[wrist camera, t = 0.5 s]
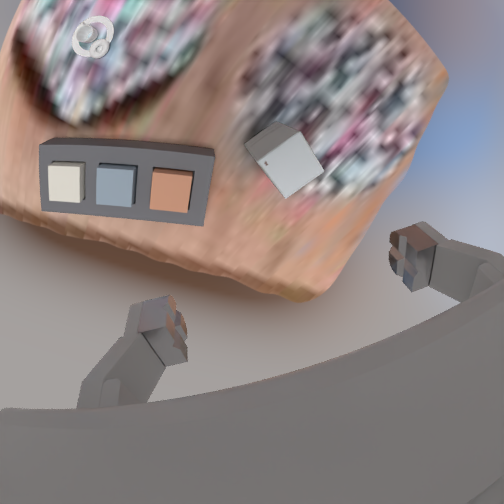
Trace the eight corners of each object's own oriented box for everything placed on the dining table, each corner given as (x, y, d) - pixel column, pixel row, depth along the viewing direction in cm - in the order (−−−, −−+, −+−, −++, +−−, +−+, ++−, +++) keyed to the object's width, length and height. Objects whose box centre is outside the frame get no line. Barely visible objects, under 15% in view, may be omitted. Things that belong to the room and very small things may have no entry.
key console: (54, 137, 41) (39, 144, 36) (213, 149, 48) (215, 156, 43) (54, 198, 47) (41, 211, 41) (202, 211, 54) (203, 226, 49)
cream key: (58, 158, 40) (48, 165, 36) (88, 159, 41) (79, 166, 38) (59, 191, 43) (49, 200, 39) (88, 193, 44) (79, 202, 41)
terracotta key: (156, 164, 44) (152, 172, 41) (193, 168, 46) (192, 176, 42) (153, 198, 47) (149, 209, 44) (188, 202, 49) (187, 213, 45)
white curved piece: (114, 55, 36) (107, 53, 33) (73, 66, 35) (63, 65, 32) (115, 11, 32) (108, 6, 28) (73, 22, 30) (64, 19, 27)
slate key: (105, 160, 42) (96, 167, 38) (139, 163, 43) (133, 170, 40) (103, 194, 45) (96, 204, 41) (136, 197, 46) (131, 207, 43)
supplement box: (266, 175, 52) (284, 201, 42) (242, 143, 48) (255, 160, 38) (299, 152, 51) (326, 172, 40) (277, 119, 47) (300, 130, 36)
